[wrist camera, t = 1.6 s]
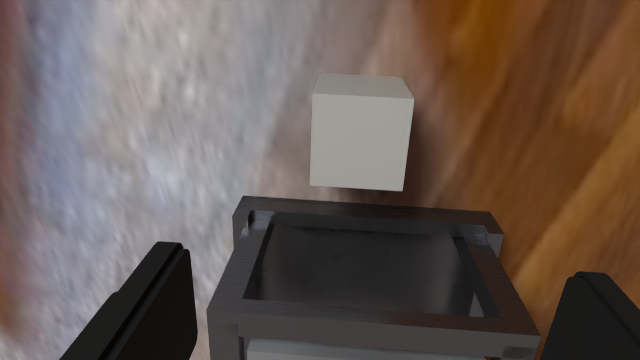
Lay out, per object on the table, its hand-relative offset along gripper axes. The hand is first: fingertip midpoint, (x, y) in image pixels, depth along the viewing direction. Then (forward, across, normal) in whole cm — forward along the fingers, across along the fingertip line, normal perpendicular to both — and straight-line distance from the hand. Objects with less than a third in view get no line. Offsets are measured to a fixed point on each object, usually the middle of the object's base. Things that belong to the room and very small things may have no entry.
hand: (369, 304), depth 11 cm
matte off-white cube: (+18, 0, 0) cm, 18 cm away
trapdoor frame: (+18, -1, +16) cm, 24 cm away
